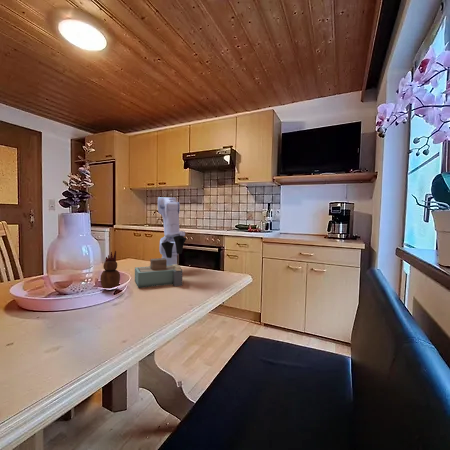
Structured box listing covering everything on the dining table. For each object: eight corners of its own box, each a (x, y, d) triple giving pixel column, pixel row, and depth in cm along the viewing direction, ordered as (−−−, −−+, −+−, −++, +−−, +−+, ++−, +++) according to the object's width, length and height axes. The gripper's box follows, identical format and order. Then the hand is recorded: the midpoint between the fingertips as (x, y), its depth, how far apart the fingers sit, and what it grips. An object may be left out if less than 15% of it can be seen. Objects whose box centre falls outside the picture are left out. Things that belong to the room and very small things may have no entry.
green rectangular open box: (134, 281, 112) (134, 267, 112) (175, 277, 120) (175, 264, 120) (139, 290, 100) (139, 274, 99) (184, 285, 108) (184, 270, 107)
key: (172, 268, 111) (172, 264, 111) (177, 267, 112) (177, 264, 112) (176, 270, 106) (176, 267, 106) (181, 270, 107) (181, 266, 107)
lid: (138, 270, 111) (138, 258, 111) (173, 267, 118) (173, 256, 118) (141, 274, 104) (141, 262, 104) (178, 271, 111) (178, 259, 111)
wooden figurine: (122, 287, 102) (122, 250, 102) (114, 292, 97) (115, 252, 96) (106, 286, 103) (106, 249, 102) (97, 291, 97) (97, 251, 97)
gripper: (156, 229, 120) (157, 258, 115) (175, 220, 111) (176, 250, 106) (169, 232, 125) (170, 259, 120) (188, 222, 115) (189, 252, 111)
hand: (174, 255), depth 113 cm, fingers open, 7 cm apart
